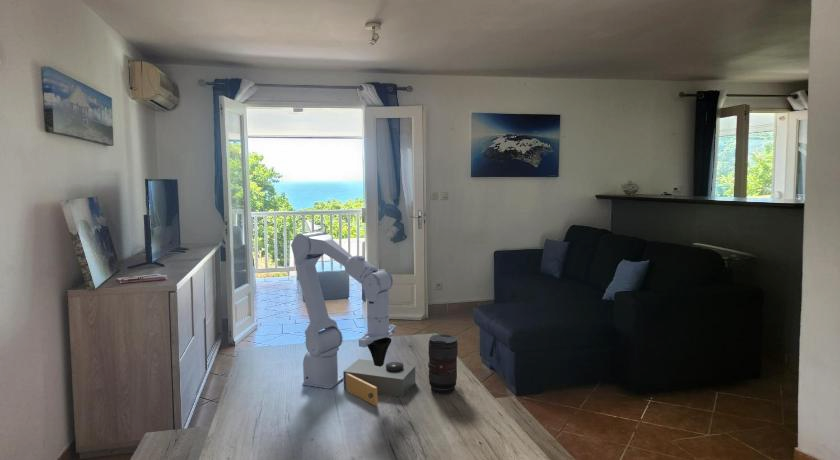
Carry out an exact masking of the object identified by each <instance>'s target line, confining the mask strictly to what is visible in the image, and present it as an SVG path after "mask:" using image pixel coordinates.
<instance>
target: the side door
mask: <svg viewBox="0 0 840 460" xmlns="http://www.w3.org/2000/svg"><path fill="white" fill-rule="evenodd" d="M345 392H349V393H350V394H352V395H354V396H355V397H357V398H360V399H361V400H363V401H365V402H367V403H369V404H370V405H373V406H378V393H377V387H375V386H373V385H371V384H369V383H367V382H365V381H363V380H361V379H359V378H357V377H355V376H353V375H351V374H349V373H346V389H345Z"/></svg>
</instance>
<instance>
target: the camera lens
mask: <svg viewBox="0 0 840 460" xmlns="http://www.w3.org/2000/svg"><path fill="white" fill-rule="evenodd" d="M458 349H459V347H458V339H457V337H456V336H454V335H450V334H443V333H442V334H441V333H440V334H434V335H431V336H429V341H428V360H429V361H428V362H427V365H428V381H429V382H428V383H429V386H430V391H431V392H432V393H434V394H436V395H449V394H452V393H454V392H455V389H456V385H457V378H458V369H457V367H458V361H457V360H458V352H459V351H458Z"/></svg>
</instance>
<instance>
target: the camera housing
mask: <svg viewBox="0 0 840 460" xmlns="http://www.w3.org/2000/svg"><path fill="white" fill-rule="evenodd" d="M342 373H343V376H342V377H344V378H343V389H345V390H346V373H349V374H351V375H353V376H355V377H357V378H359V379H361V380H363V381H365V382H367V383H369V384H371V385H373V386H375V387H377V394H382V395H388V396H395V397H401V398H403V397H404V396H405V395H406V394H407V393H408V392H409V391H410V390H411V388H412V387H413V386H414V385H415V384H416V366H415V365H409V364H403V362H400V361H391V362H385V361H384V364H383V366H381V367H379V366H375V365H374V362H373V360H368V359H361V358H358V359H357V360H356V361H355V362H353V363H352V364H351V365H349V366H348V367H346V368H345V369H344V370H343V372H342Z"/></svg>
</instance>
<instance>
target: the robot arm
mask: <svg viewBox="0 0 840 460" xmlns="http://www.w3.org/2000/svg"><path fill="white" fill-rule="evenodd" d="M290 246H291V251H292V253H293V254H292V255H293V258H294V264H295V269H296V273H297V276H298V281H299V285H300V288H301V293H302V296H303V301H304V303H305V307H306V311H307V314H308V320H309V324H308V326H307V327H306V329H305V330H304V335H305V348H306V350H307V352H306V353H305V354H304V357H303V361H302V371H303V382H302V385H303V386H310V387H316V388H321V389H323V388H324V389H329V390H330V389H333V388H334V387H335V386H337V385H338V384H339V383H340V382H341V381H343V380H344V376H340V375H339V373H338V372H339V371H338V369H339V366H338V352H339V351H340V346H341V345H342V344H343V341H344V340H343V334H342V332H341V330H340V328H339V327H338V324H337V321H336V320H334V319H332V318H331V317H329V313H328V309H327V306H326V302H325V298H324V295H323V290H322V287H321V286H322V285H321V283H320V278H319V275H318V270H317V267H316V266H317V263H318V261H319V260H320V259H321V258H322V257H323V256H324V255H326V256H328V257H329V258H331V259H332V260H334V262H335V261H336V262H337V263H339V264H340V265H342V266H344V269H345V273H346V274H347V275H349V276H350V277H351V278H353V279H354V280H356V281H357V282H358V283H360V284H361V287H362V289H363V292H364V294H365V300H366V315H367V316H366V318H367V321H366V322H367V323H366V324H367V331H366V332H365V333H364V334H363V336H362V337H361V338H358V347H360V348H365V349H366V348H367V349H368V350H369V353H370V355H371V357H372V361H373V362H374V365H375V366H379V367H381V366H383V364H384V362H385V360H386V359H385V358H386V356H387V355H386V354H387V352H388V349H389V347H390V345H391V343H392V338H391V337H393V334H395V333H397V325H395V324H390V317H389V316H390V307H389V304H390V302H389V299H390V297H389V294H390V293H389V290H390V289H391V288H392V286H393V285H394V280H393V277H392V274H391V273H390V272H389V271H388V270H387V269H385V268H382V269H379V268H377V266H375V265H372V264H371V263H370V262H368V261H367V260H365V257H364V256H363V255H352V254H350V253H349V252H348V251H347V250H346V249H344V248H343V247H342V246H341V245H340V244H338V243H337V242H336V241H335V240H334V239H333V236H332V235H331V234H329V233H328V232H326V231H325V230H318V231H313V232H306V233H297V234H296V235H295V236H294V238H293V239H292V242H291V244H290Z"/></svg>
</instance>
